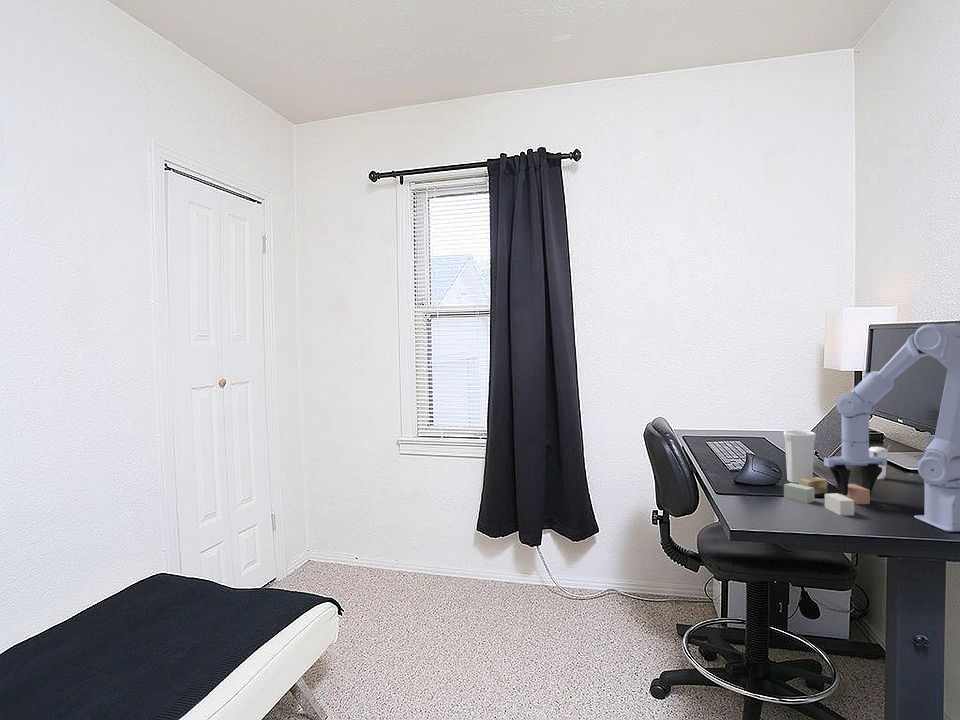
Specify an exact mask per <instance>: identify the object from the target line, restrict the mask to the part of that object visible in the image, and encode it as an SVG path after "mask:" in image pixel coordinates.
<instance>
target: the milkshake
mask: <svg viewBox="0 0 960 720" xmlns="http://www.w3.org/2000/svg"><path fill="white" fill-rule="evenodd" d="M890 447H891V443H889V445H888V446H887V447H886V448H884V447H882V446H870V447H869V456H874V457H884V458H887V459H888V455H889V453H888V452H889V448H890ZM879 467H881V468H882V472H881V473H880V475H879V476H878V478H877V479H876V480H886V473H887V472H886V471H887V466H882V465H879Z"/></svg>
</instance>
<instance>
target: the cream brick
mask: <svg viewBox="0 0 960 720" xmlns="http://www.w3.org/2000/svg"><path fill="white" fill-rule="evenodd" d="M824 508H825V509H827V510H828V511H831V512H833V513H835V514H836V515H839V516H855V503H854V500H852V499H850V498H847V497H845V496H843V495H841V494H840V493H838V492H837V493H836V492H835V493H832V492H831V493H824Z"/></svg>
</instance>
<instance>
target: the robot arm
mask: <svg viewBox="0 0 960 720" xmlns="http://www.w3.org/2000/svg"><path fill="white" fill-rule="evenodd" d="M928 356H930V357H932V358H933V359H936V360H937V361H938V362H939V363H940V364H941V365H943V367H944V368H945V369H946V375H945V379H944V380H945V382H944V387H943V392H942V397H941V402H940V408H939V413H938V417H937V422H936V429H935V433H934V438H933V440H932V441H931V442H930V443H929V444H928V446H926V448H925V452H924V454H923V456H922V457H921V458H920V459H919V461H918V463H917V471H918V474H919V476H920V477H921V478H922V479H923V481H924V504H923V505H924V506H923V507H924V508H923V509H924V511H923V512H924V514H917V515H914V516H913V517H914V518H915V519H917V520H918V521H921V522H924V523H925V524H929V525H931V526H934V527H936V528H938V529H941V530H943V531H945V532H960V323H953V322H952V323H951V322H950V323H945V324H942V323H941V324H939V323H938V324H935V323H927V324H923V325H921V326H920V327H918V329H917V330H916V331H915V333H912V334H911V335H909V336H908V337H907V339H906V342H905V343H904V344H903V345H902V346H901V348H899V349H898V350H897V352H896V353H895V354H894V355H893V356H892V357H891V358H890V359H889V361H887V362H886V364H885V365H884V366H883V367H882V368H880V370H872V371H870V372H866V373H864V375H863V376H862V377H863V379H862V380H860V382H859V383H857V385H856V386H853V387H851V388H850V392H849V393H842V394H840V395H839V397H838V398H837V401H836V403H835V405H836V410H837V412H838V413H839V414H840V415H841V455H839V456H833V457H824V458H823V466H825V467H827V468H829V470H830V472H831V473H832V475H833V477H834V479H835V482H836V484H837V487H838V491H839V494H842V495H848V484H849V481H850V475H851V472H852V471H851V469H848V467H856V466H857V467H859V470H860V475H861V482H862V483H861V487H863V488H866V489H868V490H870V496H871V494H872V491H873V489H874V485H875V484H876V482H877V480H878V479H877V478H878V476H879V475H880V473H881V472H882V468H881V467H879V465H882V466H886V467H887V466H888V457H887V458H884V457H874V456H869V448H870V419H871V418H870V417H871V414H872V413H873V412H874V410H875V408H876V404H877V403H879V401H881V399H882V398H883V397H885V396H886V395H887V394H888V393H889V392H890V391H891V390H892V389H894V386H895V385H894V380H895V379H896V378H898V377H899V376H900V375H901V374H902V373H904V372H905V371H906V370H907V369H908V368H910V367H911V366H912V365H913V364H914V363H916V362H917V361H919V360H920V358H924V357H928Z"/></svg>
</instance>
